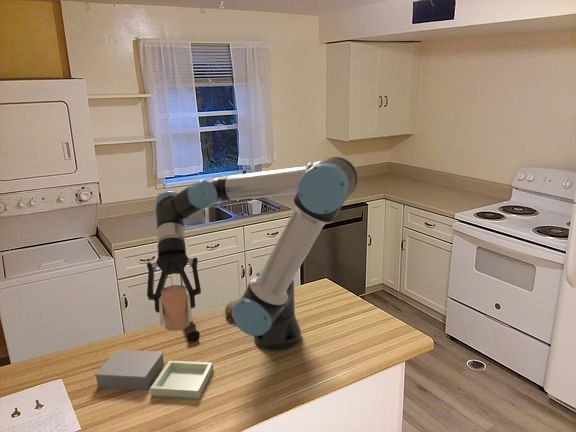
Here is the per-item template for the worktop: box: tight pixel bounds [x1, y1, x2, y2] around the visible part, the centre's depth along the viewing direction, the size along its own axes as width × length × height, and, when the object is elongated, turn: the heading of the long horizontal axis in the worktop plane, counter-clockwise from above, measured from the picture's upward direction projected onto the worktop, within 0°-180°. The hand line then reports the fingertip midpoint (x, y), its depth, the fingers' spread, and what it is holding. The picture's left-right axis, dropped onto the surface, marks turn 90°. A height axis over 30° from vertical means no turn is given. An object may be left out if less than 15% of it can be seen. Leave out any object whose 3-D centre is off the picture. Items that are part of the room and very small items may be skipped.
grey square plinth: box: [94, 349, 165, 391], centre depth 130 cm, size 14×12×4 cm
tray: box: [149, 360, 214, 400], centre depth 126 cm, size 13×13×2 cm
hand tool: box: [184, 320, 200, 343], centre depth 155 cm, size 19×4×5 cm, turn 19°
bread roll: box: [224, 298, 240, 322], centre depth 163 cm, size 10×10×8 cm
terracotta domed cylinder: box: [161, 284, 190, 332], centre depth 120 cm, size 6×6×10 cm
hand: (176, 321), depth 118 cm, fingers closed on terracotta domed cylinder, 6 cm apart
